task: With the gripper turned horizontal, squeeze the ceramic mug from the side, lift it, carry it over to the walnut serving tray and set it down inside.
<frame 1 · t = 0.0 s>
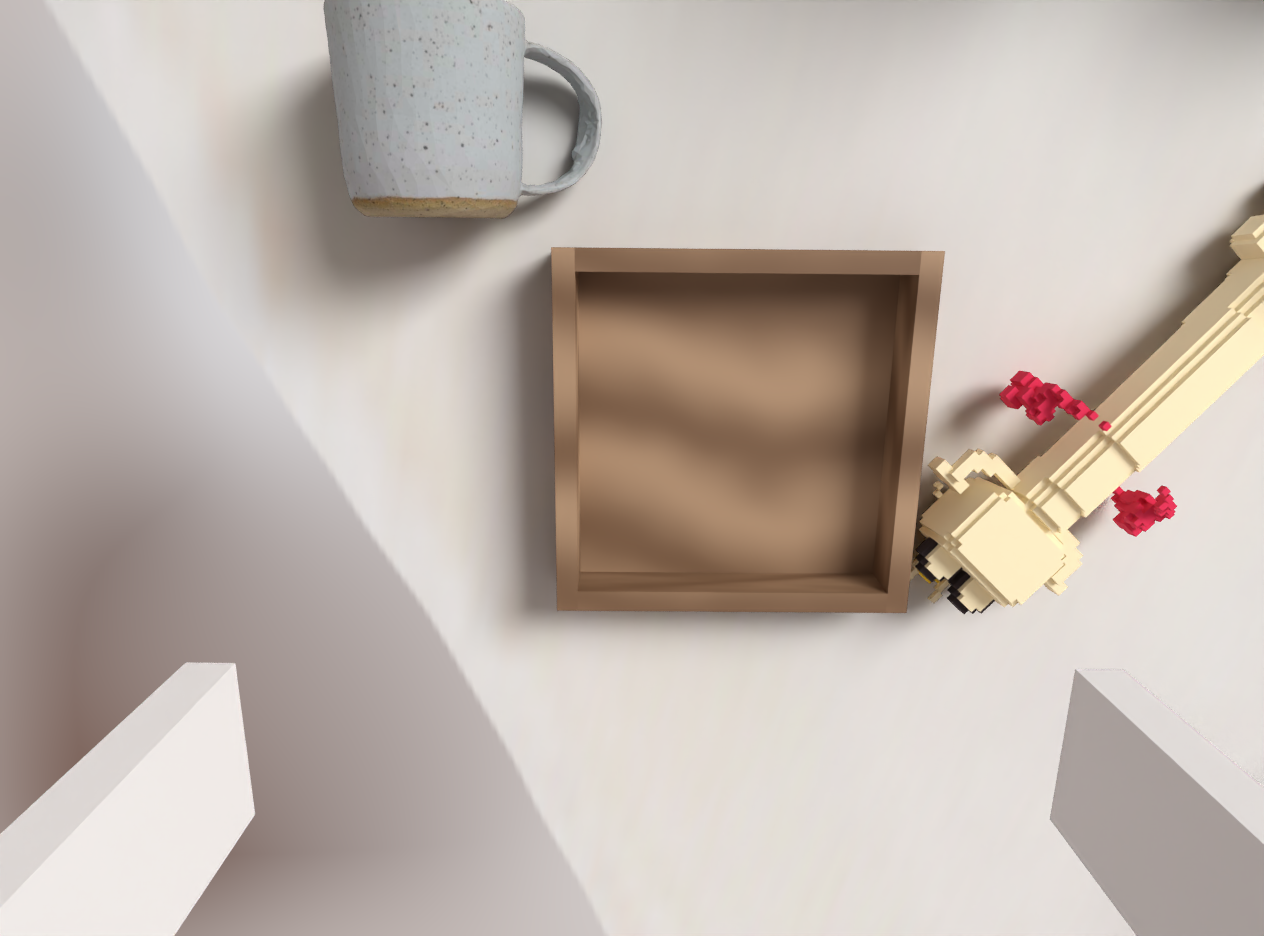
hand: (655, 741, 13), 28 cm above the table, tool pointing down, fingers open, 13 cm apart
tray: (730, 426, 40), on the table
cat figure: (1094, 405, 40), on the table
ceramic mug: (481, 122, 36), on the table
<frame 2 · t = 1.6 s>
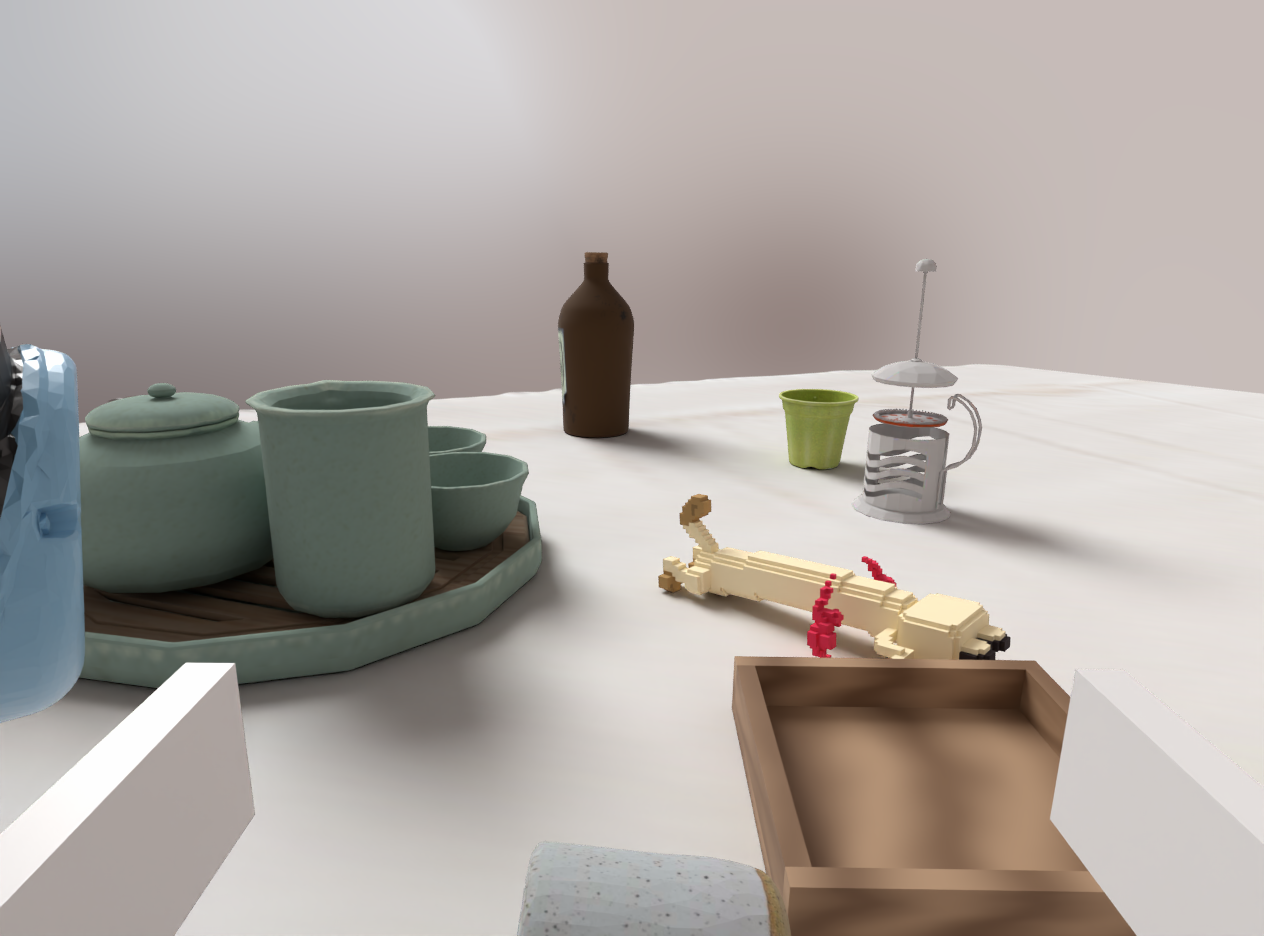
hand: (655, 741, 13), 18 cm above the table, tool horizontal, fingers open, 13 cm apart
tray: (931, 809, 38), on the table
tea set: (297, 571, 66), on the table
cat figure: (818, 637, 56), on the table
plant pot: (813, 465, 100), on the table
french press: (908, 511, 82), on the table
olive oil: (595, 432, 116), on the table
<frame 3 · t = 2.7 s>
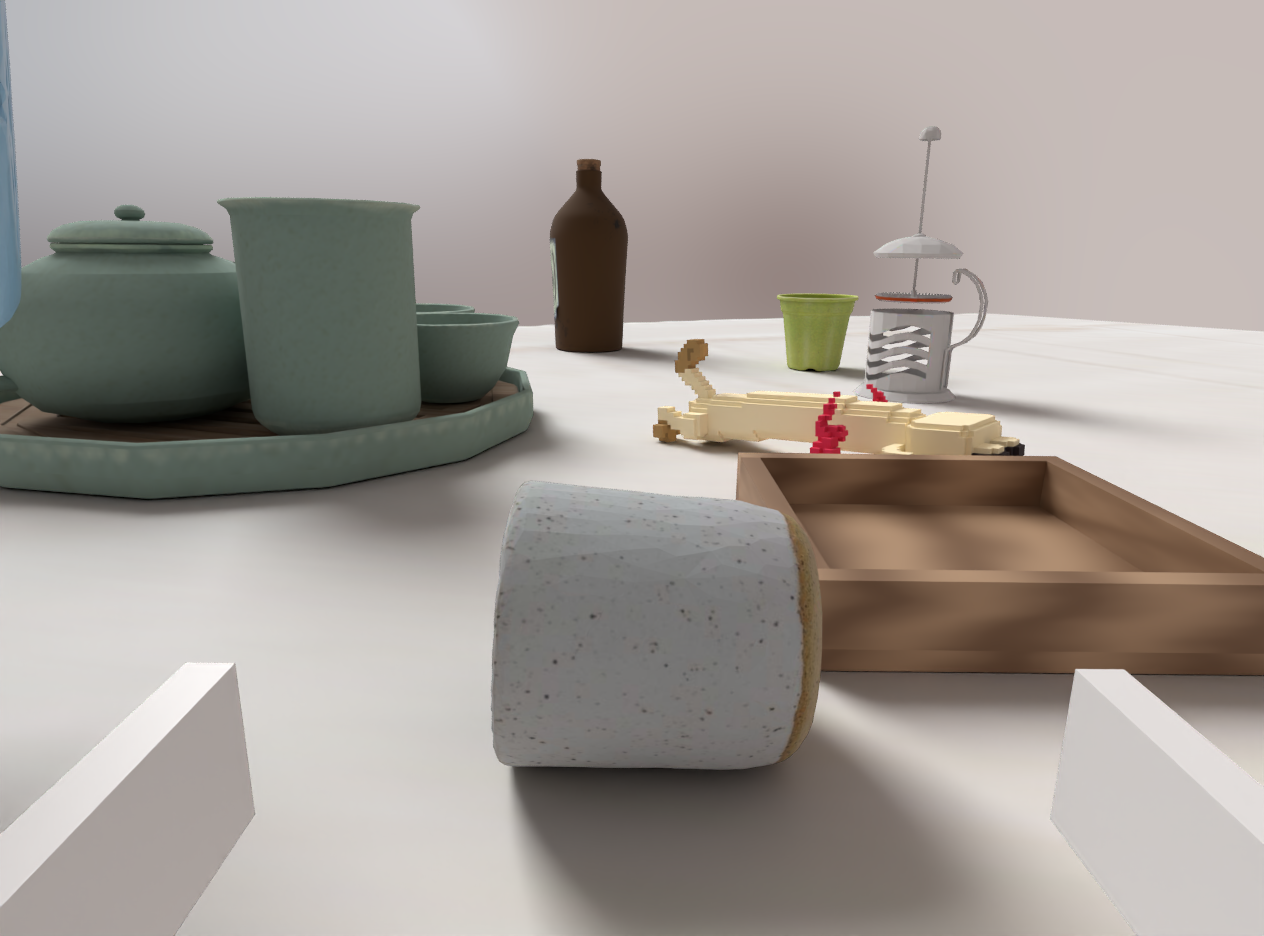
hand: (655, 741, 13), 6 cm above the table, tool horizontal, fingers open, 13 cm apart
tray: (951, 574, 35), on the table
tea set: (277, 431, 63), on the table
cat figure: (821, 472, 53), on the table
plant pot: (812, 370, 97), on the table
french press: (911, 397, 80), on the table
ceramic mug: (638, 722, 25), on the table
olive oil: (588, 349, 113), on the table
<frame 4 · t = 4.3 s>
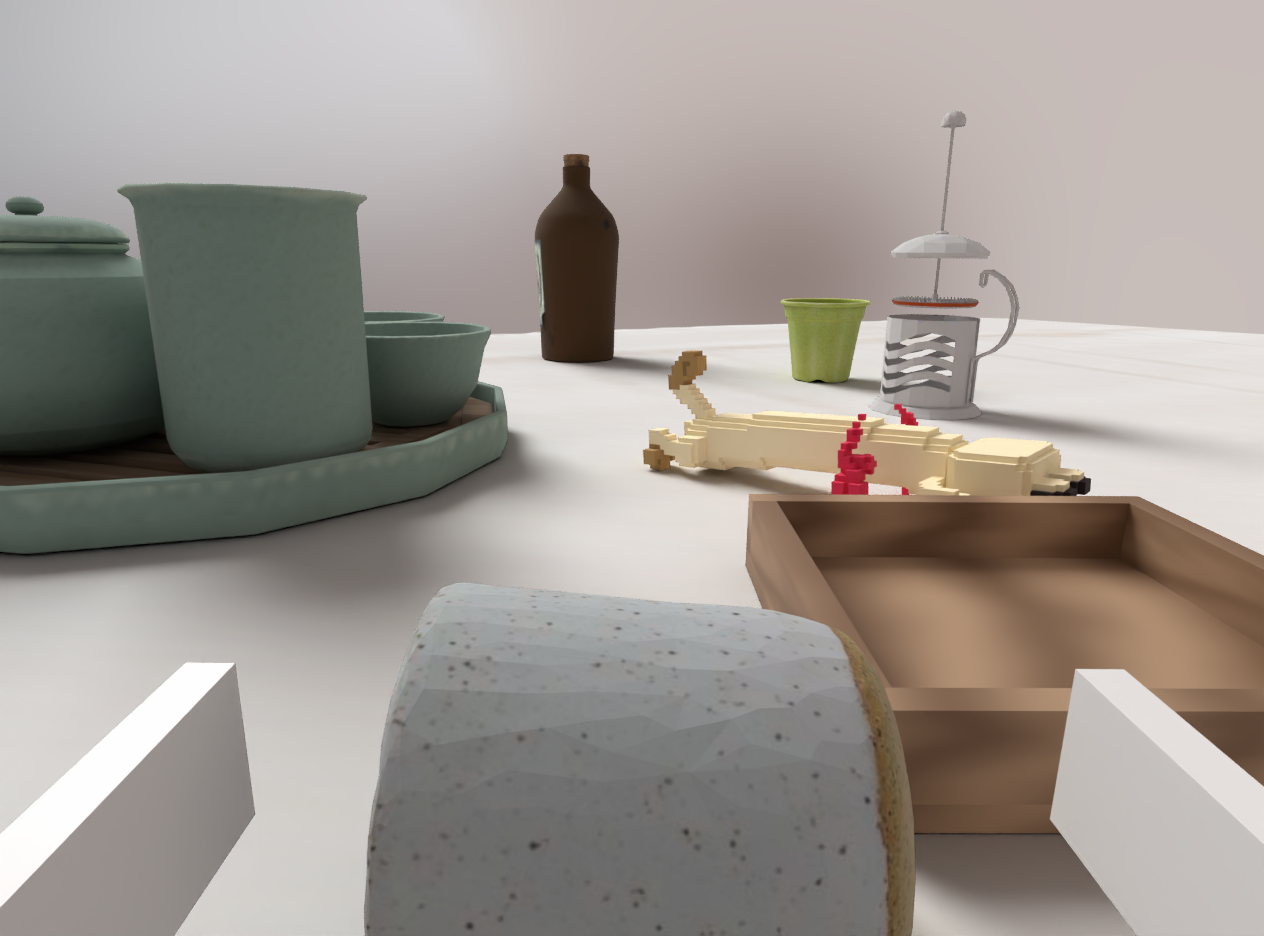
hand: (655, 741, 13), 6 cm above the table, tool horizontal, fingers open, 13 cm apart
tray: (1029, 659, 27), on the table
tea set: (213, 458, 55), on the table
cat figure: (840, 507, 45), on the table
plant pot: (819, 381, 89), on the table
french press: (933, 412, 72), on the table
ceramic mug: (621, 919, 17), on the table
olive oil: (577, 359, 105), on the table
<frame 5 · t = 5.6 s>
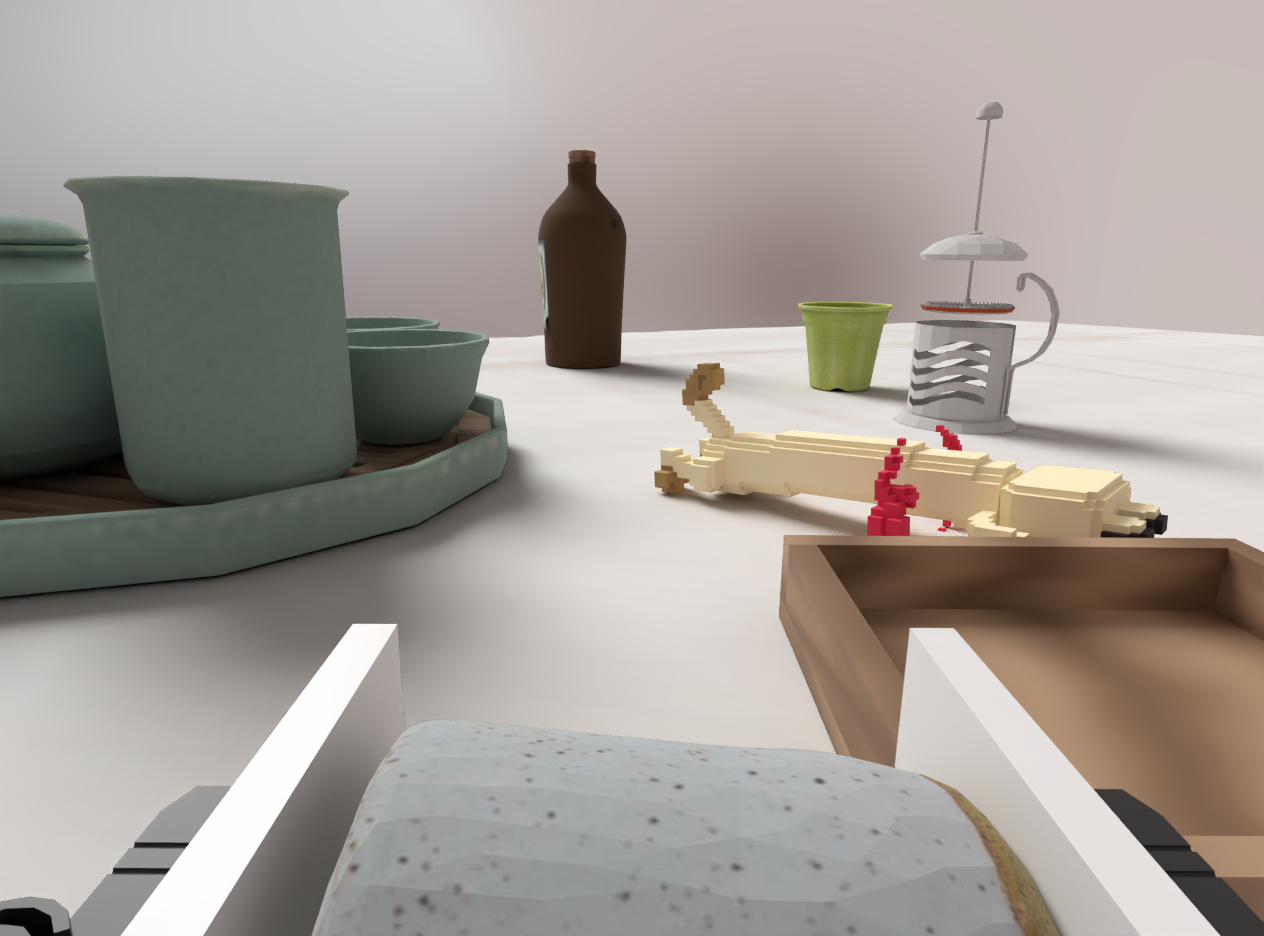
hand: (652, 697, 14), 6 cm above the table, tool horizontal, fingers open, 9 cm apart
tray: (1132, 749, 23), on the table
tea set: (186, 479, 50), on the table
cat figure: (874, 540, 41), on the table
plant pot: (838, 389, 85), on the table
french press: (964, 425, 67), on the table
olive oil: (582, 365, 101), on the table
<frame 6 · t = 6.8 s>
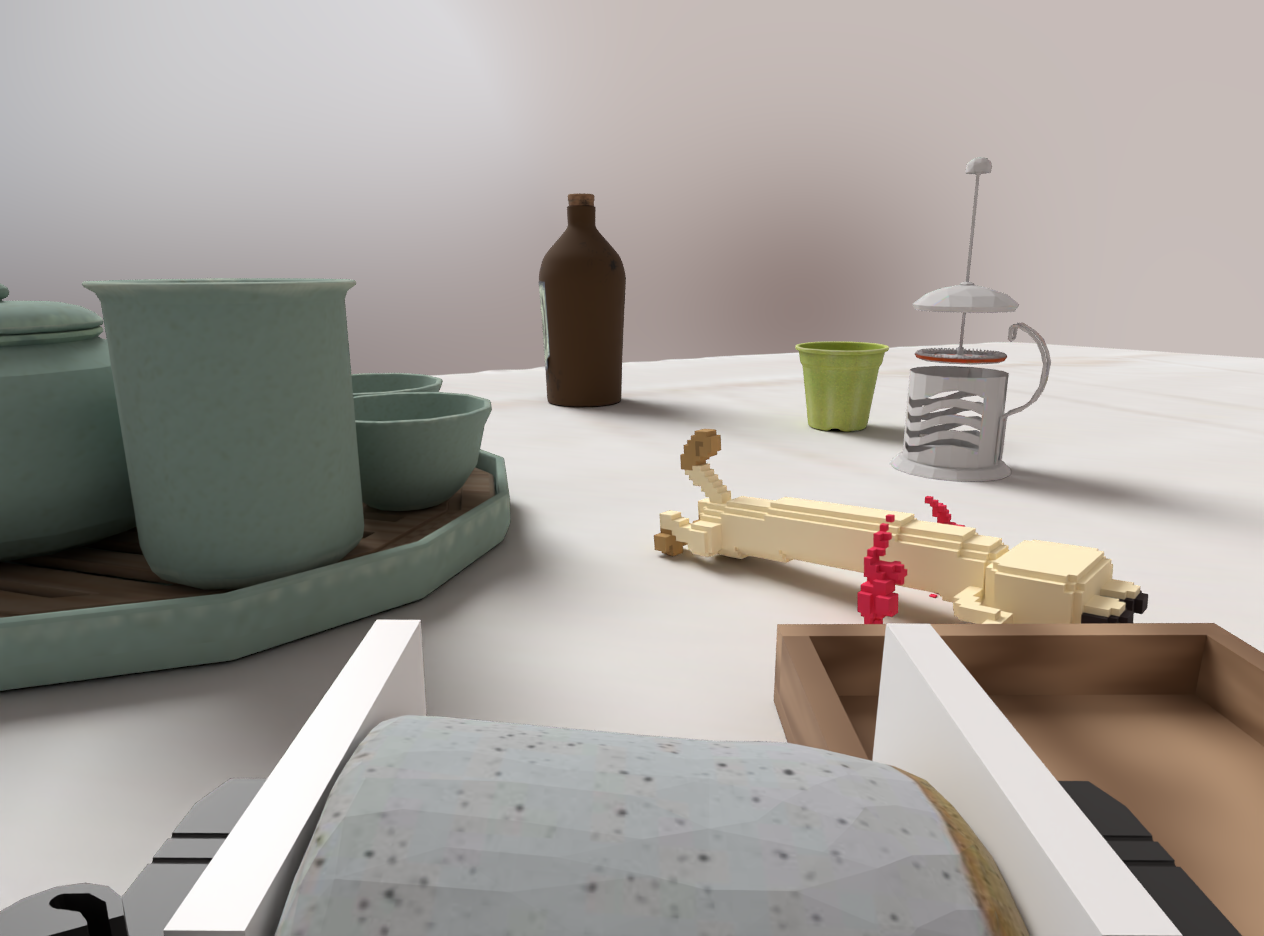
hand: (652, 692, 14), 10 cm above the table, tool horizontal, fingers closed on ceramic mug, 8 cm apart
tray: (1111, 851, 24), on the table
tea set: (196, 544, 51), on the table
cat figure: (867, 607, 42), on the table
plant pot: (836, 428, 86), on the table
french press: (959, 470, 68), on the table
olive oil: (583, 402, 102), on the table
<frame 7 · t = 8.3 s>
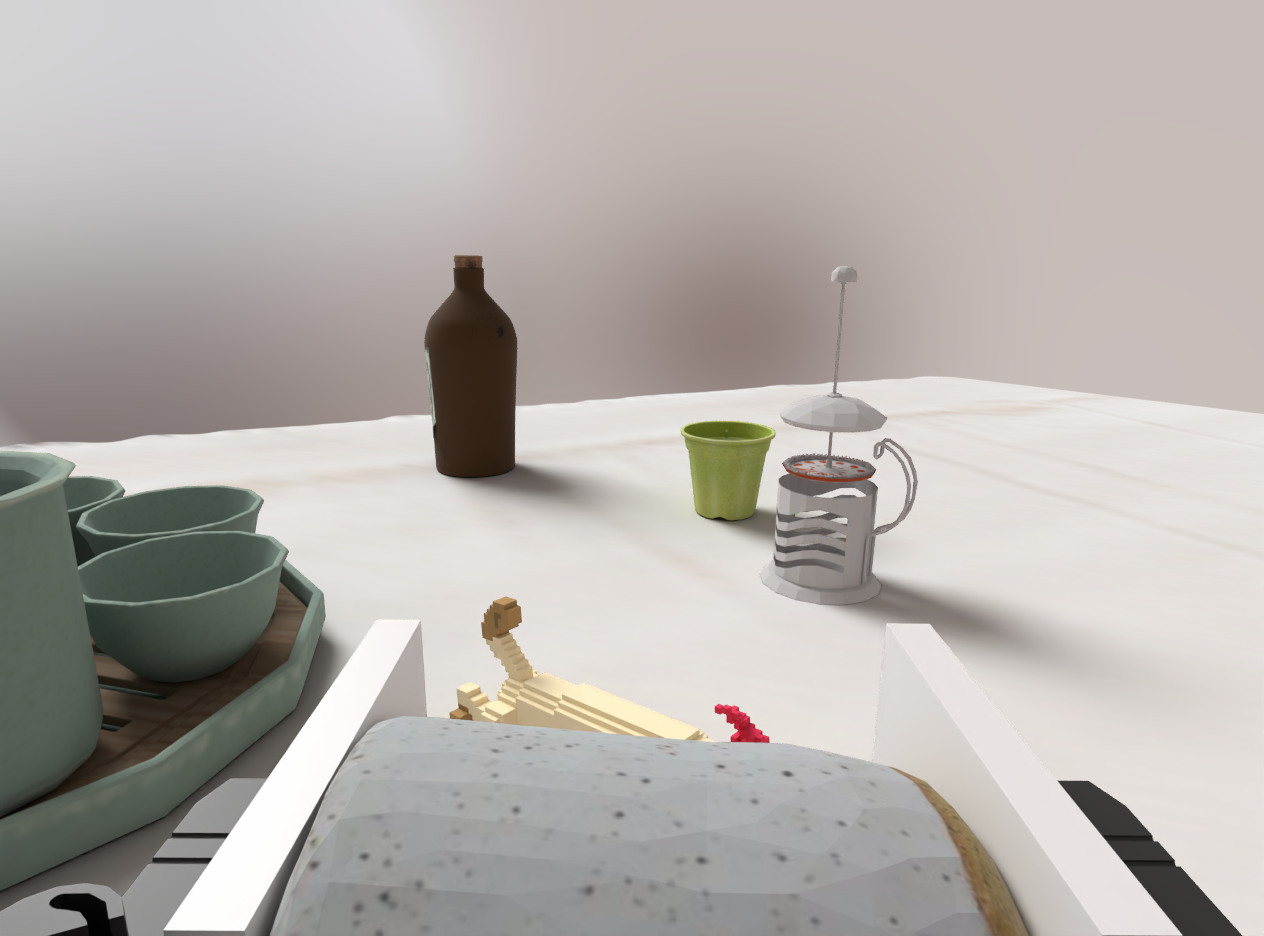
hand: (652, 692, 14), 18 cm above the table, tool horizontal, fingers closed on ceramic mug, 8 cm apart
cat figure: (657, 819, 38), on the table
plant pot: (724, 514, 82), on the table
french press: (829, 584, 65), on the table
olive oil: (475, 469, 98), on the table
when the fingers open (8 cm above the table, at t = 11.0 s): ceramic mug drops 2 cm, resting on tray.
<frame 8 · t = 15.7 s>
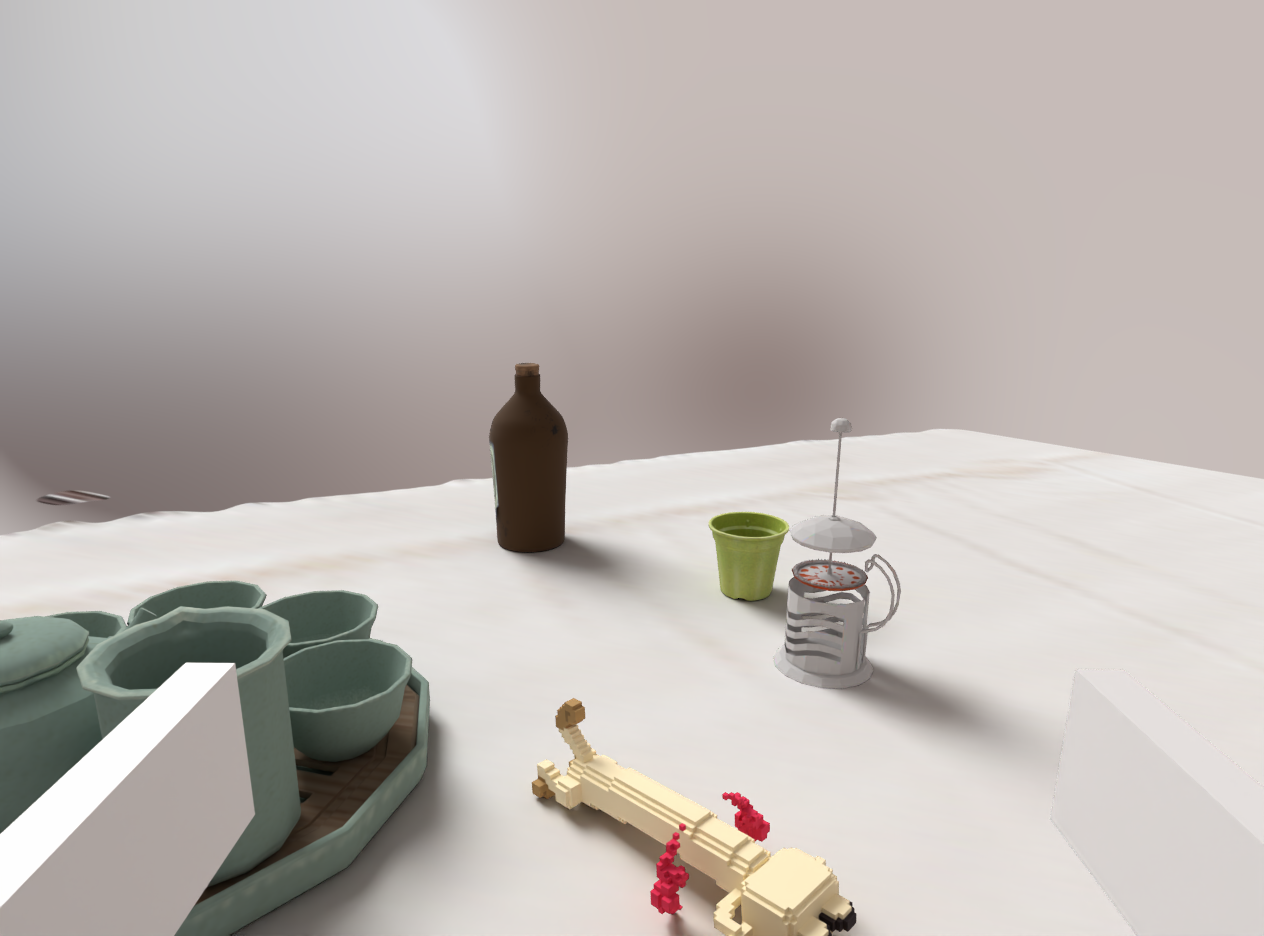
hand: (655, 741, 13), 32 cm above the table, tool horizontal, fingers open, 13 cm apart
tea set: (167, 780, 62), on the table
cat figure: (680, 871, 54), on the table
plant pot: (745, 593, 97), on the table
french press: (830, 667, 80), on the table
olive oil: (530, 542, 113), on the table
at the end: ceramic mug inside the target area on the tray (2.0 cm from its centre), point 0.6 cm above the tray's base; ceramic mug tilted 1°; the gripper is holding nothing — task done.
